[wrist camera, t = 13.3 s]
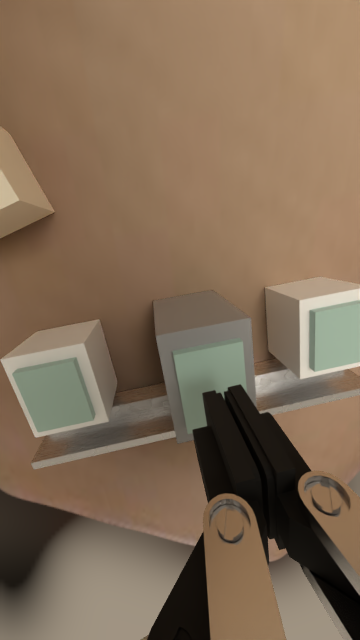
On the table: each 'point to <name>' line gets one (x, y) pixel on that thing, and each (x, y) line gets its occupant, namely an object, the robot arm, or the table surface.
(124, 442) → the rail
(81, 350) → the mounted modules
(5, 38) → the table surface
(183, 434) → the block
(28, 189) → the cream cube
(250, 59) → the table surface
